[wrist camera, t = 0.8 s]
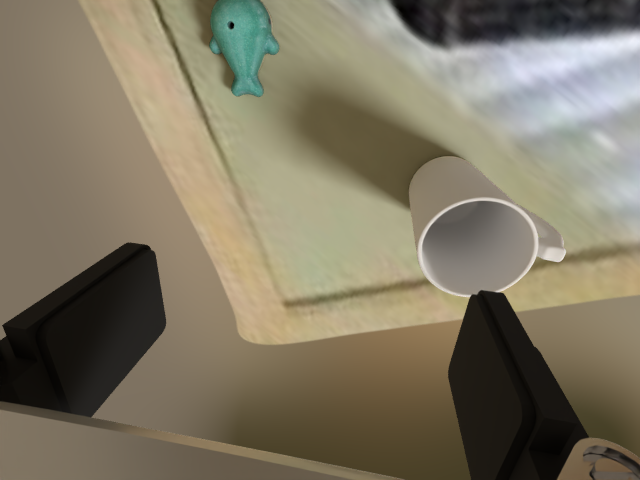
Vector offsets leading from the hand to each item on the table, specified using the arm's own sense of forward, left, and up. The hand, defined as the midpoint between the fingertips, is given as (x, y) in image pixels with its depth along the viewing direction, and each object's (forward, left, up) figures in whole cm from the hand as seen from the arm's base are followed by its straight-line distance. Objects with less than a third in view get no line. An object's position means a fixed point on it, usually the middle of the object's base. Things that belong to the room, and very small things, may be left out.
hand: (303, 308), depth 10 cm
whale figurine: (-7, -10, -24) cm, 27 cm away
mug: (+3, +10, -24) cm, 26 cm away
